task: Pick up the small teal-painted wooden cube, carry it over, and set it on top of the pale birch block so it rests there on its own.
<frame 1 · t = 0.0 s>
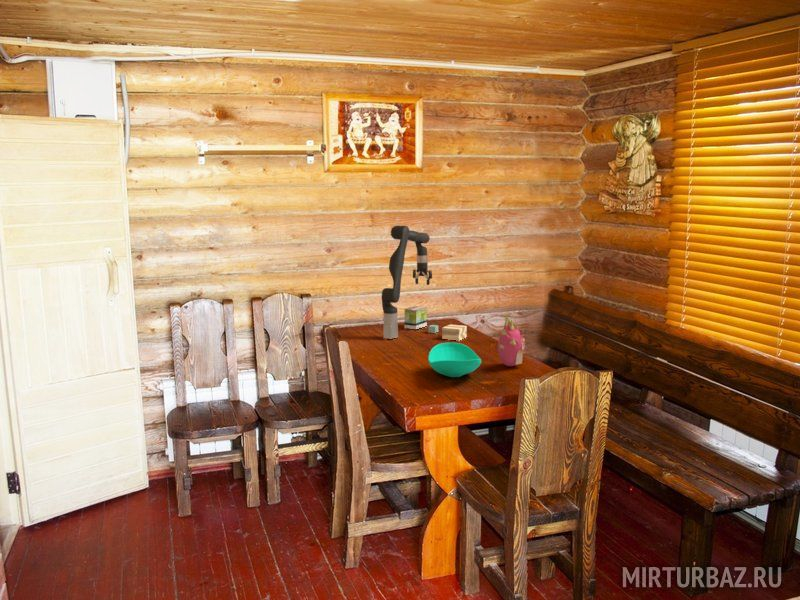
hand: (422, 284, 492), 29 cm above the table, tool pointing down, fingers open, 8 cm apart
tea box: (415, 328, 487), on the table
birch block: (454, 338, 454), on the table
pink dragon fruit: (510, 366, 386), on the table
table top decor: (454, 375, 370), on the table
teal cube: (433, 333, 472), on the table
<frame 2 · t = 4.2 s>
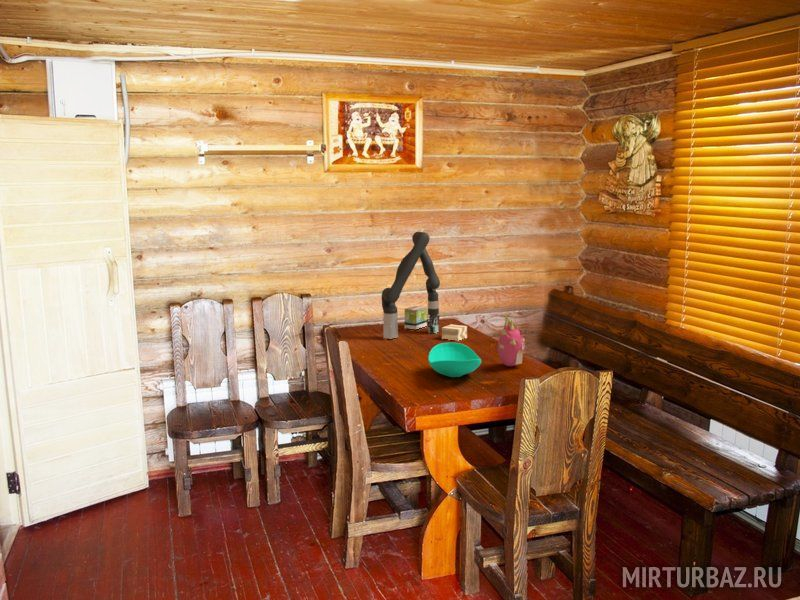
hand: (433, 331, 471), 1 cm above the table, tool pointing down, fingers closed on teal cube, 5 cm apart
teal cube: (433, 332, 471), on the table, touching gripper
everything else where it was.
when the fingers open (10 cm above the table, at t = 9.4 s): teal cube drops 2 cm, resting on birch block.
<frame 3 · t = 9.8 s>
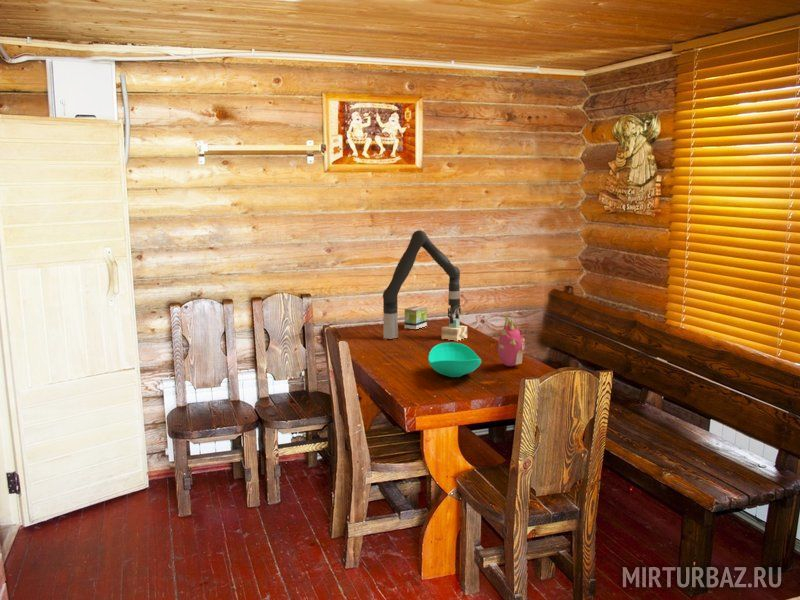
hand: (454, 322, 452), 11 cm above the table, tool pointing down, fingers open, 8 cm apart
birch block: (454, 338, 454), on the table, touching teal cube
teal cube: (454, 326, 453), point 8 cm above the table, touching birch block
everything else where it was.
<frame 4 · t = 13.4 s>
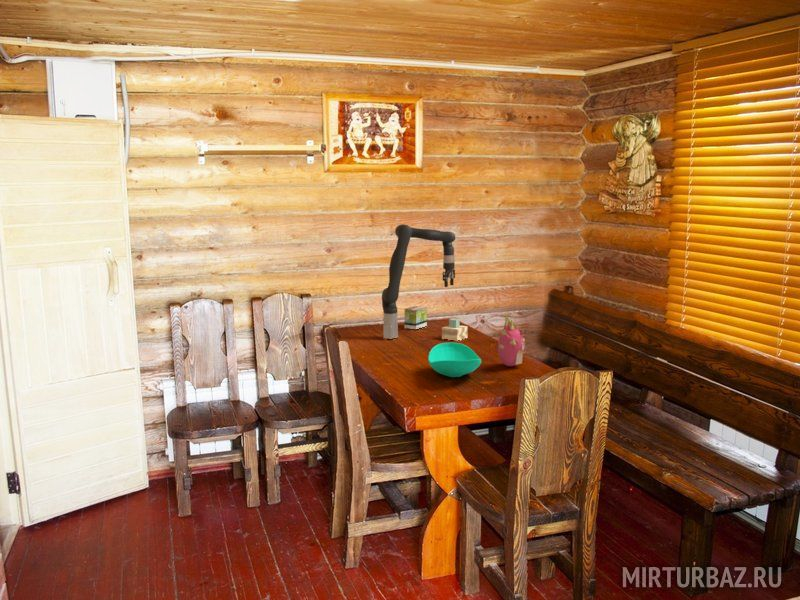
hand: (449, 286, 464), 32 cm above the table, tool pointing down, fingers open, 8 cm apart
nothing on the table moved.
at the end: teal cube inside the target area on the birch block (0.3 cm from its centre), point 8.0 cm above the birch block's base; teal cube touching birch block; the gripper is holding nothing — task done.
